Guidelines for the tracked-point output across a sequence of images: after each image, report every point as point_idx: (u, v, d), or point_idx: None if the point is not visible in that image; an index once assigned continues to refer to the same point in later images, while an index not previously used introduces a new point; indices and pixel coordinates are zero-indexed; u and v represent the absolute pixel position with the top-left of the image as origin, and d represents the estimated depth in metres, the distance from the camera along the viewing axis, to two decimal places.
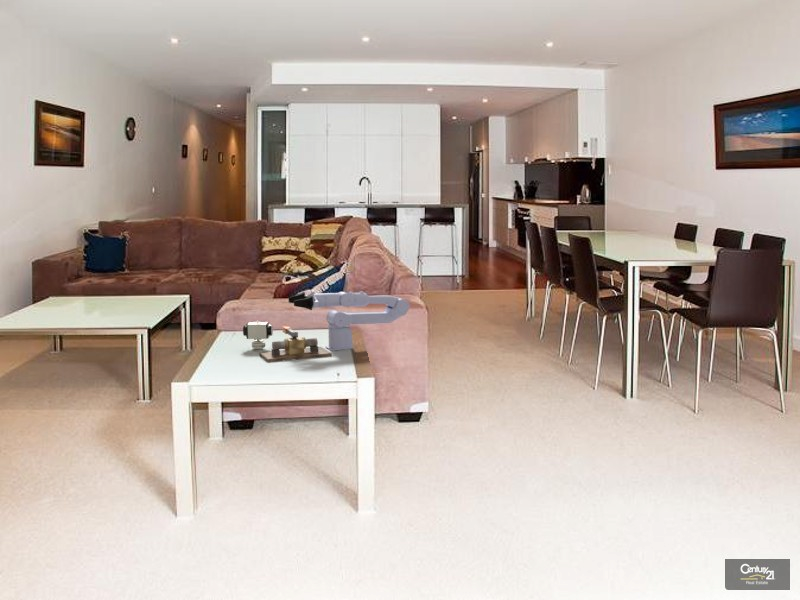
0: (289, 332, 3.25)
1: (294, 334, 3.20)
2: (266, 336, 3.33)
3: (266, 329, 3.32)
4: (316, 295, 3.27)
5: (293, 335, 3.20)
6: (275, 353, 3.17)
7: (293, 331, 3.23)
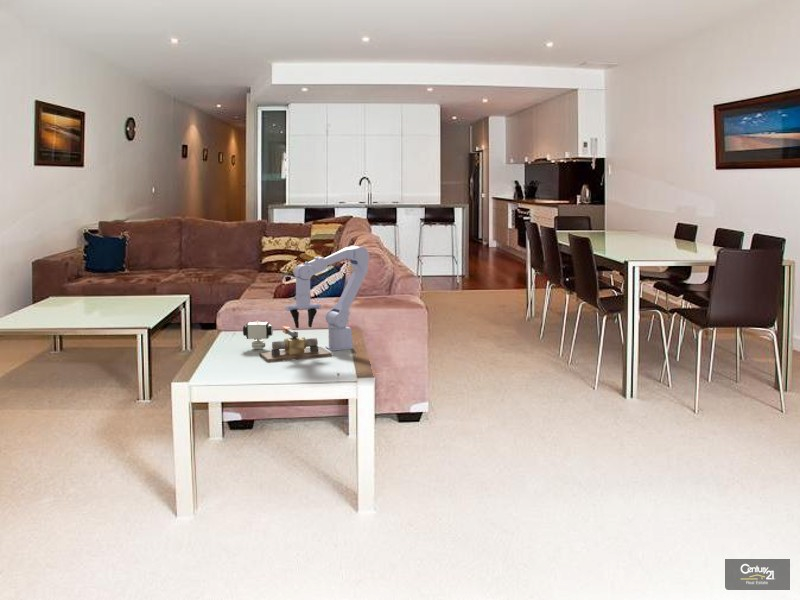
0: (289, 332, 3.25)
1: (294, 334, 3.20)
2: (266, 336, 3.33)
3: (266, 329, 3.32)
4: (308, 303, 3.24)
5: (293, 335, 3.20)
6: (275, 353, 3.17)
7: (293, 331, 3.23)
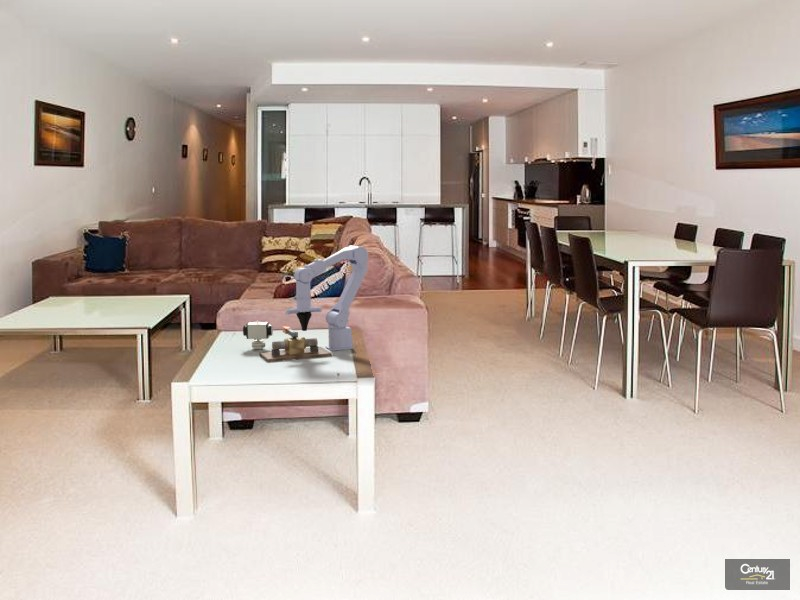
0: (289, 332, 3.25)
1: (294, 334, 3.20)
2: (266, 336, 3.33)
3: (266, 329, 3.32)
4: (308, 306, 3.24)
5: (293, 335, 3.20)
6: (275, 353, 3.17)
7: (293, 331, 3.23)
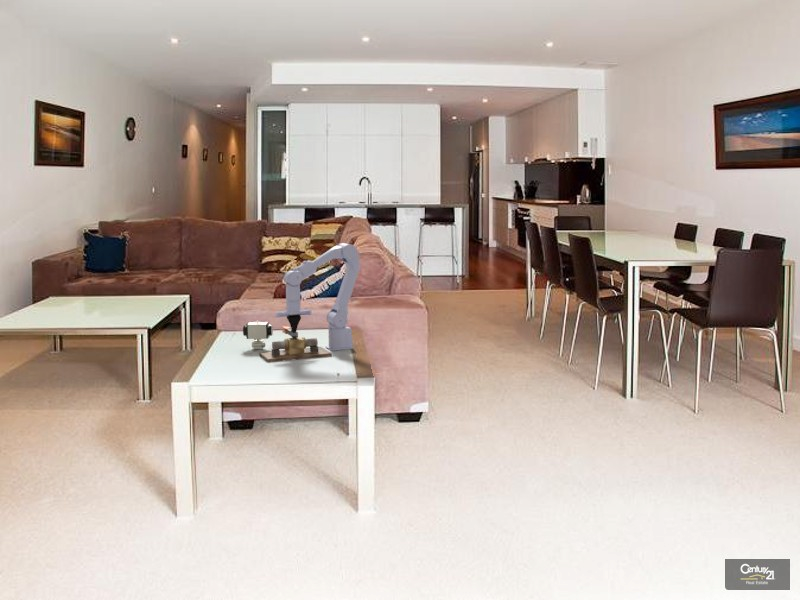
0: (289, 332, 3.25)
1: (294, 334, 3.20)
2: (266, 336, 3.33)
3: (266, 329, 3.32)
4: (298, 309, 3.24)
5: (293, 335, 3.20)
6: (275, 353, 3.17)
7: (293, 331, 3.23)
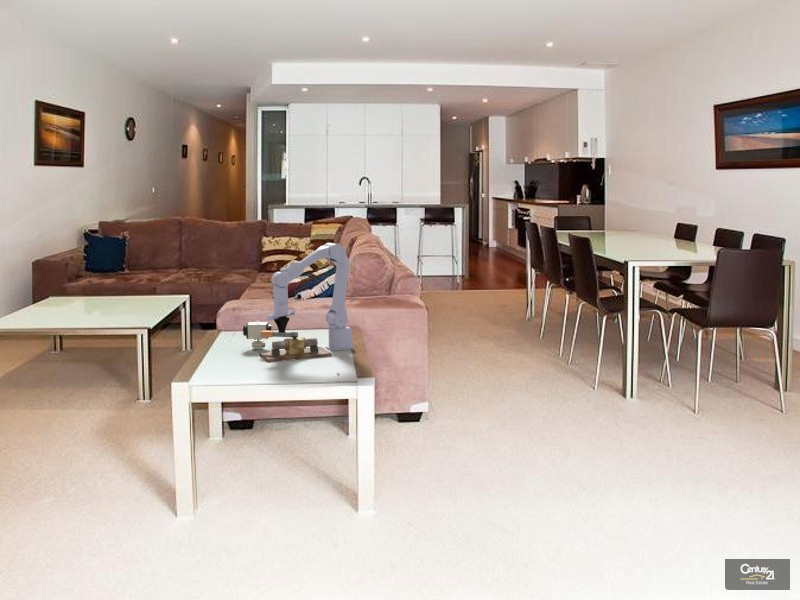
0: (282, 334, 3.21)
1: (297, 334, 3.20)
2: None
3: (266, 329, 3.32)
4: None
5: (296, 335, 3.20)
6: (275, 353, 3.17)
7: (288, 332, 3.22)
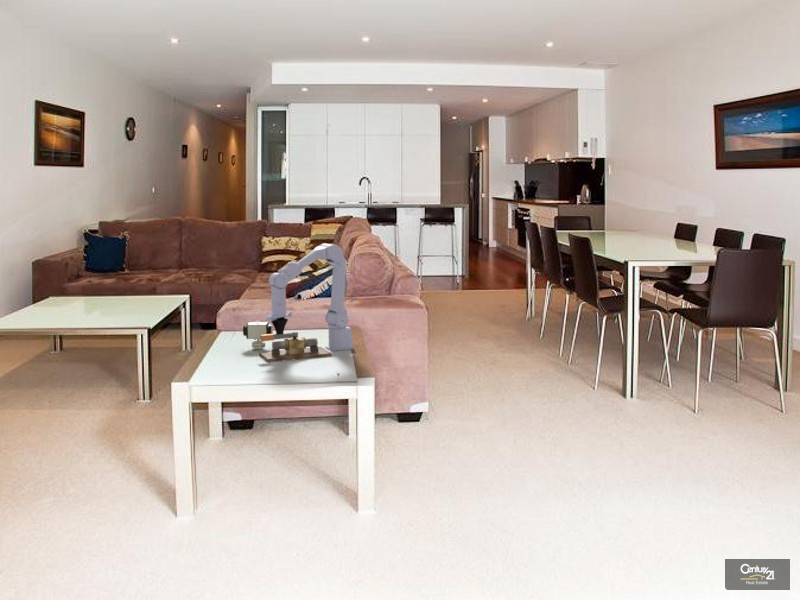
0: (284, 335, 3.18)
1: (297, 333, 3.21)
2: None
3: (266, 329, 3.32)
4: (286, 311, 3.19)
5: (297, 335, 3.21)
6: (275, 353, 3.17)
7: (288, 333, 3.20)
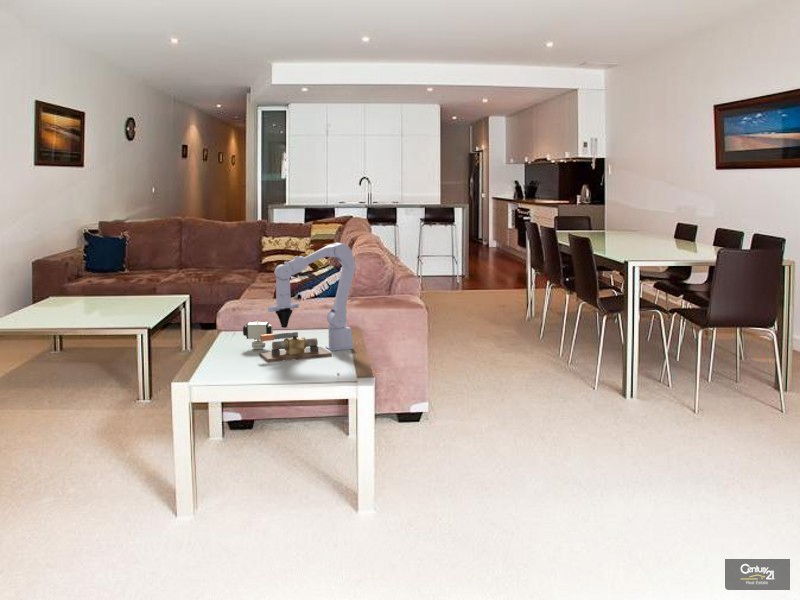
0: (284, 335, 3.18)
1: (297, 333, 3.21)
2: None
3: (266, 329, 3.32)
4: (290, 303, 3.25)
5: (297, 335, 3.21)
6: (275, 353, 3.17)
7: (288, 333, 3.20)
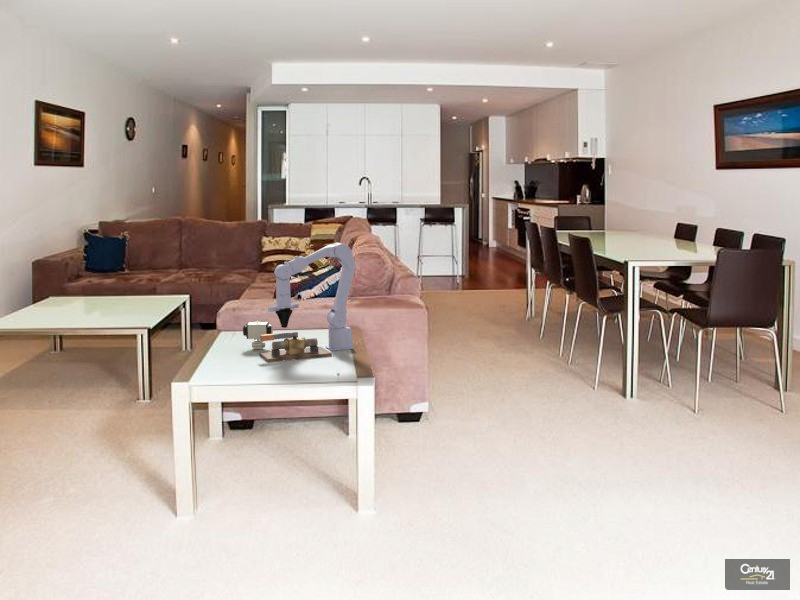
0: (284, 335, 3.18)
1: (297, 333, 3.21)
2: None
3: (266, 329, 3.32)
4: (290, 303, 3.25)
5: (297, 335, 3.21)
6: (275, 353, 3.17)
7: (288, 333, 3.20)
